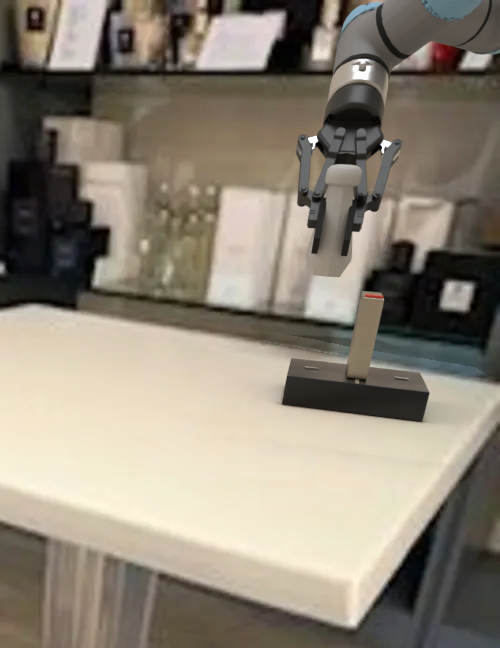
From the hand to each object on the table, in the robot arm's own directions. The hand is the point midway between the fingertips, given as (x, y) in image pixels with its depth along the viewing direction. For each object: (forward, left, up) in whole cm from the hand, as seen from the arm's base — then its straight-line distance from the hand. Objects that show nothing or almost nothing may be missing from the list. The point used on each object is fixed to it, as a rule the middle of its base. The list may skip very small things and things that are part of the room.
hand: (330, 246), depth 110 cm
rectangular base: (-5, +23, -14) cm, 27 cm away
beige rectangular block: (-5, +23, -11) cm, 26 cm away
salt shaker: (0, -4, -4) cm, 5 cm away
